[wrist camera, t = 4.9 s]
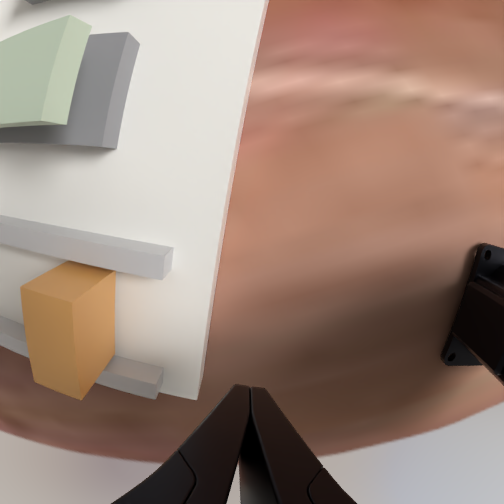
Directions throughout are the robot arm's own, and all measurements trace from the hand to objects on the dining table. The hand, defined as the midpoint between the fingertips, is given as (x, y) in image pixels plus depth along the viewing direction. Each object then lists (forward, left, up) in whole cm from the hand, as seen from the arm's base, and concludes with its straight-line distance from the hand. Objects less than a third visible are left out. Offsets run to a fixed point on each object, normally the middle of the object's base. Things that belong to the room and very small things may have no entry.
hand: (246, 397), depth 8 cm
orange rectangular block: (+6, 0, -4) cm, 7 cm away
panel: (+9, -8, -6) cm, 13 cm away
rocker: (+9, -8, -1) cm, 12 cm away
